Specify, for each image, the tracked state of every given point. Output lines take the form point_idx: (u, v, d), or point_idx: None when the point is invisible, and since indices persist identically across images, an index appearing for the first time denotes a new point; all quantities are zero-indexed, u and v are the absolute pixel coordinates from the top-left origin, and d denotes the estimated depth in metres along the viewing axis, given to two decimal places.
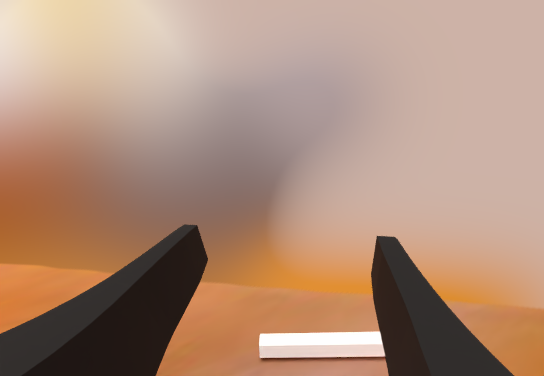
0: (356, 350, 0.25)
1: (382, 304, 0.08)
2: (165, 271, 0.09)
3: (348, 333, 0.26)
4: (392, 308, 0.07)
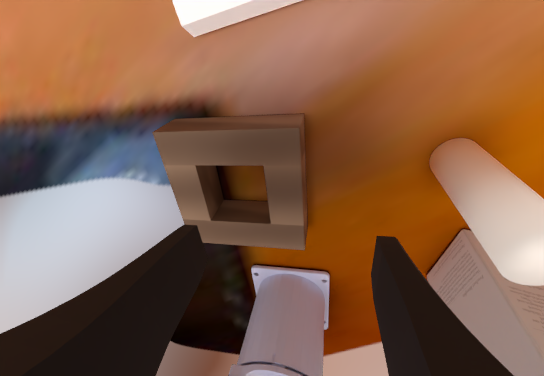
0: None
1: (382, 304, 0.08)
2: (165, 271, 0.09)
3: None
4: (392, 308, 0.07)
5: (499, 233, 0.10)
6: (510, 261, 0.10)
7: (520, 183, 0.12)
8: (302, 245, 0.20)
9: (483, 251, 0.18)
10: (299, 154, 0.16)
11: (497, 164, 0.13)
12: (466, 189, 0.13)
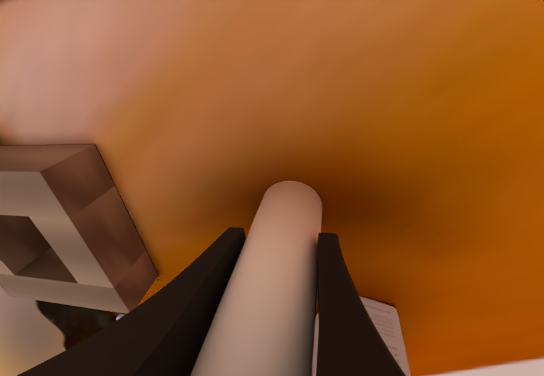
0: None
1: (318, 297, 0.09)
2: (220, 277, 0.08)
3: None
4: None
5: None
6: None
7: (278, 281, 0.07)
8: (125, 308, 0.16)
9: None
10: (59, 205, 0.12)
11: (286, 235, 0.09)
12: None
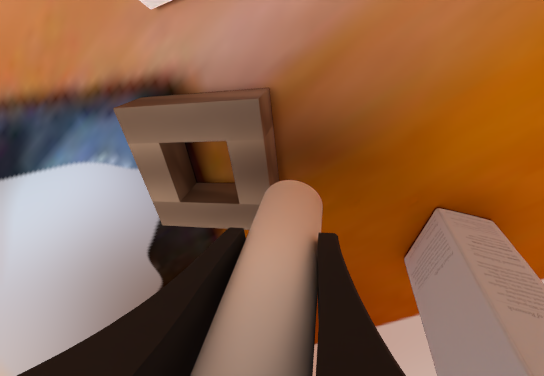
0: None
1: (318, 297, 0.09)
2: (220, 277, 0.08)
3: None
4: None
5: None
6: None
7: (278, 280, 0.07)
8: None
9: (456, 228, 0.17)
10: (261, 127, 0.16)
11: (286, 234, 0.09)
12: None
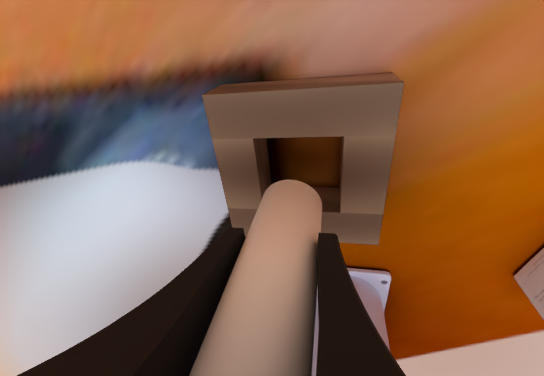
0: None
1: (318, 297, 0.09)
2: (220, 277, 0.08)
3: None
4: None
5: None
6: None
7: (277, 280, 0.07)
8: (376, 238, 0.17)
9: None
10: (396, 119, 0.13)
11: (286, 234, 0.09)
12: (230, 275, 0.09)
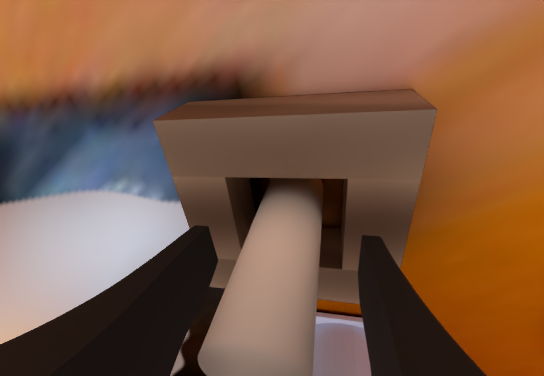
0: None
1: (366, 302, 0.08)
2: (178, 272, 0.09)
3: None
4: (373, 306, 0.07)
5: None
6: (216, 372, 0.07)
7: (286, 243, 0.09)
8: None
9: None
10: (423, 159, 0.09)
11: (292, 208, 0.10)
12: None
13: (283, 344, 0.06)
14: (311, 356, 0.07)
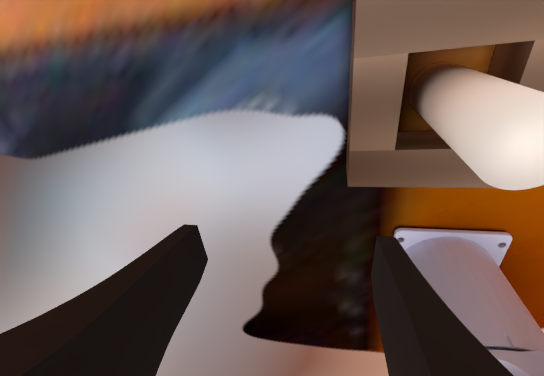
0: None
1: (382, 304, 0.08)
2: (165, 271, 0.09)
3: None
4: (392, 308, 0.07)
5: (475, 124, 0.09)
6: (488, 155, 0.08)
7: (503, 80, 0.10)
8: None
9: None
10: None
11: (479, 72, 0.12)
12: (443, 99, 0.11)
13: None
14: None
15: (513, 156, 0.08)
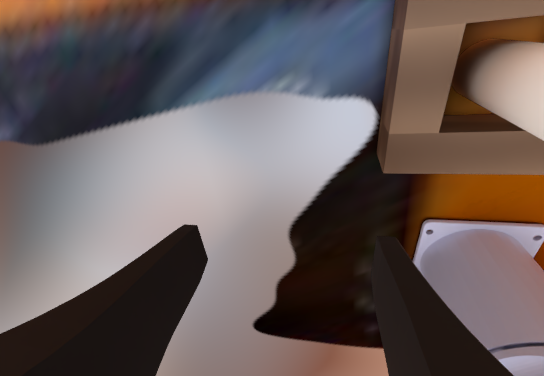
0: None
1: (382, 304, 0.08)
2: (165, 271, 0.09)
3: None
4: (392, 308, 0.07)
5: None
6: None
7: None
8: None
9: None
10: None
11: None
12: (508, 71, 0.10)
13: None
14: None
15: None
